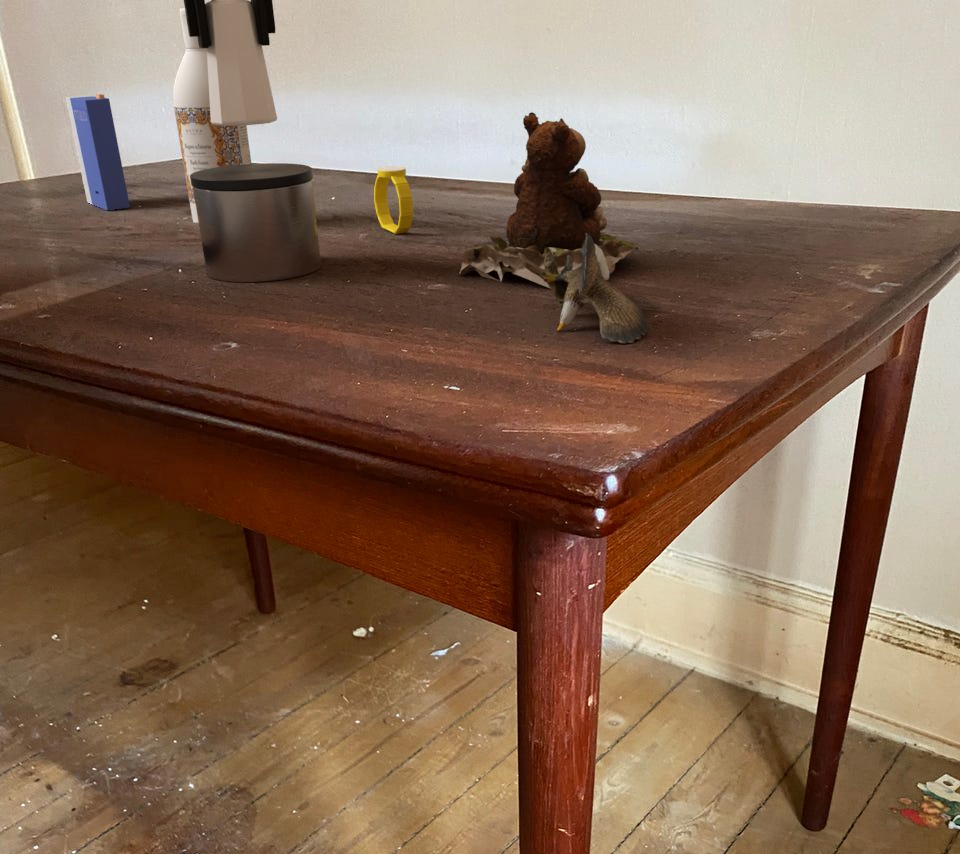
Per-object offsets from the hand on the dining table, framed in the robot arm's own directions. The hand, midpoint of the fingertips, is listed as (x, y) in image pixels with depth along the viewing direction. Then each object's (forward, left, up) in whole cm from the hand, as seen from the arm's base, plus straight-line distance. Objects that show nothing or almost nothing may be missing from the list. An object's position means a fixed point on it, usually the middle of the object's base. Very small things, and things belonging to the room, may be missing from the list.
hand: (233, 43), depth 83 cm
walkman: (-41, +23, -18) cm, 50 cm away
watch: (+2, +19, -18) cm, 26 cm away
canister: (0, 0, -17) cm, 17 cm away
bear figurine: (+24, +9, -18) cm, 31 cm away
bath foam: (-18, +17, -18) cm, 30 cm away
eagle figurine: (+34, -8, -18) cm, 39 cm away
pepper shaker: (0, 0, -6) cm, 6 cm away
